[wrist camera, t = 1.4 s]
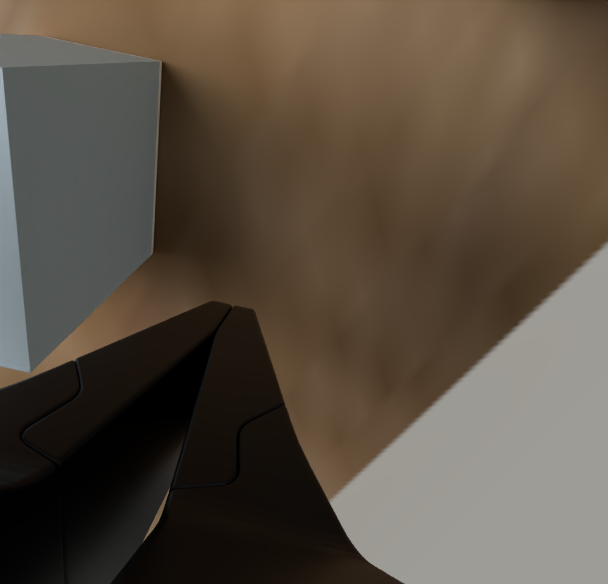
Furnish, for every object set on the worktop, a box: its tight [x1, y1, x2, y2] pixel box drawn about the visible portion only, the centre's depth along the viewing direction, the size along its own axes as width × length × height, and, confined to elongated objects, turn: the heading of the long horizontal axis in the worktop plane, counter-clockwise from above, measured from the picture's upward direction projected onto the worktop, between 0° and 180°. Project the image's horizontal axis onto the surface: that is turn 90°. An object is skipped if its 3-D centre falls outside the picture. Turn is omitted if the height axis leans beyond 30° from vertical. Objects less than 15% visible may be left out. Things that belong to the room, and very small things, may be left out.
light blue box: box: [0, 34, 162, 373], centre depth 14 cm, size 7×4×8 cm, turn 169°
